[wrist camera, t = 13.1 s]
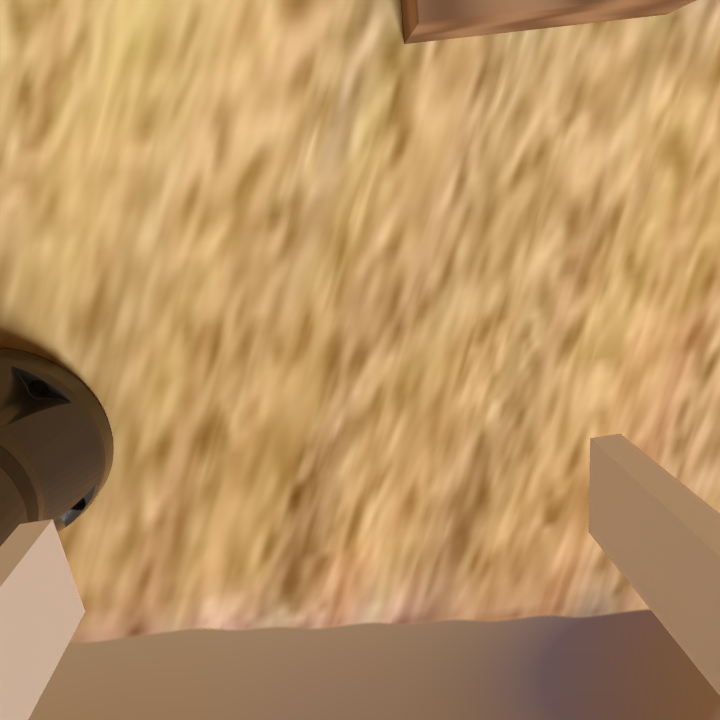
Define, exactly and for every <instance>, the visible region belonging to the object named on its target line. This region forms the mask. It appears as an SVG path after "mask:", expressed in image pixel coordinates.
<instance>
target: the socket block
mask: <svg viewBox="0 0 720 720" xmlns="http://www.w3.org/2000/svg"><path fill="white" fill-rule="evenodd" d="M693 1H696V0H401V6H402V18H403V31H404V43H405V44H408V43H417V42H426V41H435V40H444V39H453V38H461V37H470V36H479V35H488V34H497V33H506V32H515V31H523V30H532V29H541V28H550V27H559V26H568V25H576V24H585V23H594V22H603V21H612V20H621V19H630V18H638V17H647V16H656V15H665V14H668V13H670V12H672V11H675V10H677V9H679V8H681V7H683V6H685V5H687V4H689V3H691V2H693Z"/></svg>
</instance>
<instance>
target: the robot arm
mask: <svg viewBox="0 0 720 720" xmlns="http://www.w3.org/2000/svg"><path fill="white" fill-rule="evenodd" d="M112 461H113V438H112V432H111V428H110V425H109V422H108V420H107V417H106V415H105V413H104V411H103V409H102V407H101V406H100V404H99V402H98V401H97V400H96V398H95V397H94V395H93V394H92V393H91V392H90V391H89V390H88V388H87V387H86V386H85V385H84V384H83V383H82V382H80V381H79V380H78V379H77V378H76V377H75V376H73V375H72V374H71V373H69V372H68V371H67V370H65V369H64V368H62V367H60V366H59V365H57V364H55V363H53V362H51V361H49V360H47V359H45V358H42V357H40V356H37V355H34V354H31V353H28V352H24V351H19V350H14V349H6V348H0V720H28V719H29V717H30V715H31V713H32V711H33V709H34V708H35V705H36V704H37V702H38V700H39V698H40V696H41V694H42V692H43V690H44V689H45V687H46V685H47V683H48V681H49V679H50V677H51V675H52V673H53V672H54V670H55V668H56V666H57V664H58V662H59V660H60V658H61V656H62V654H63V653H64V651H65V649H66V647H67V645H68V643H69V641H70V639H71V637H72V635H73V634H74V632H75V630H76V628H77V626H78V624H79V622H80V620H81V618H82V617H83V615H84V613H85V610H84V607H83V604H82V602H81V599H80V596H79V593H78V590H77V587H76V584H75V582H74V579H73V576H72V573H71V570H70V567H69V565H68V562H67V559H66V556H65V553H64V550H63V547H62V545H61V542H60V539H59V536H58V533H57V532H58V531H60V530H61V529H63V528H65V527H67V526H68V525H69V524H71V523H72V522H74V521H75V520H76V519H77V518H78V517H79V516H81V515H82V514H83V513H84V512H85V511H86V509H87V508H88V507H89V506H90V505H91V503H92V502H93V501H94V499H95V498H96V496H97V495H98V493H99V492H100V490H101V489H102V487H103V486H104V484H105V482H106V480H107V478H108V476H109V473H110V470H111V466H112ZM589 533H590V534H591V535H592V537H593V538H594V539H595V540H596V542H597V543H598V544H599V545H600V547H601V548H602V549H603V550H604V552H605V553H606V554H607V555H608V557H609V558H610V559H611V560H612V562H613V563H614V564H615V565H616V567H617V568H618V569H619V570H620V572H621V573H622V574H623V575H624V577H625V578H626V579H627V580H628V582H629V583H630V584H631V585H632V587H633V588H634V589H635V590H636V592H637V593H638V594H639V595H640V597H641V598H642V599H643V600H644V602H645V603H646V604H647V605H648V607H649V608H650V609H651V610H652V612H653V613H654V614H655V615H656V617H657V618H658V619H659V620H660V622H662V624H663V625H664V627H665V628H666V629H667V630H668V632H669V633H670V634H671V635H672V637H673V638H674V639H675V640H676V641H677V643H678V644H679V645H680V647H681V648H682V649H683V650H684V652H685V653H686V654H687V655H688V656H689V658H690V659H691V660H692V661H693V662H694V664H695V665H696V666H697V668H698V669H699V670H700V671H701V673H702V674H703V675H704V677H706V679H707V680H708V682H709V683H710V684H711V685H712V687H713V688H714V689H715V690H716V691H717V693H718V694H719V695H720V514H719V513H718V512H717V511H716V510H714V509H713V508H712V507H711V506H709V505H708V504H707V503H706V502H704V501H703V500H702V499H701V498H699V497H698V496H697V495H696V494H694V493H693V492H692V491H691V490H690V489H688V488H687V487H686V486H685V485H683V484H682V483H681V482H680V481H678V480H677V479H676V478H675V477H673V476H672V475H671V474H670V473H668V472H667V471H666V470H665V469H663V468H662V467H661V466H660V465H658V464H657V463H656V462H655V461H653V460H652V459H651V458H650V457H648V456H647V455H646V454H645V453H644V452H642V451H641V450H640V449H639V448H637V447H636V446H635V445H634V444H632V443H631V442H630V441H629V440H627V439H626V438H625V437H624V436H622V435H621V434H616V435H609V436H603V437H596V438H590V487H589Z"/></svg>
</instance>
